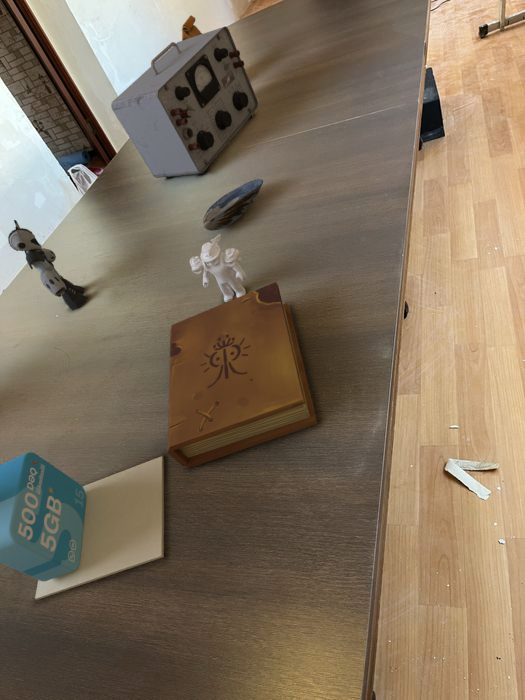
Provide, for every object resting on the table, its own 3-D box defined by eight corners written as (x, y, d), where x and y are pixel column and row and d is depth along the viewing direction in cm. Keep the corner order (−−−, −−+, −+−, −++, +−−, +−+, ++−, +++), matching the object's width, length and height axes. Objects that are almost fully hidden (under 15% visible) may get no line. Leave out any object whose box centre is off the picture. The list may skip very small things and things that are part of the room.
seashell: (262, 230, 96) (252, 209, 92) (206, 245, 100) (194, 226, 97) (272, 187, 105) (263, 166, 102) (220, 202, 110) (210, 183, 107)
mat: (37, 600, 61) (34, 599, 61) (55, 498, 71) (53, 497, 71) (163, 557, 58) (161, 555, 58) (164, 457, 68) (162, 455, 68)
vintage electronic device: (209, 179, 120) (154, 77, 103) (158, 184, 131) (101, 92, 114) (267, 108, 135) (227, 8, 118) (217, 118, 145) (174, 27, 128)
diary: (185, 349, 81) (167, 326, 78) (289, 307, 78) (276, 281, 74) (185, 469, 65) (162, 448, 61) (317, 424, 61) (302, 398, 57)
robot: (61, 286, 115) (-3, 217, 101) (79, 274, 115) (17, 204, 102) (74, 327, 100) (1, 253, 87) (94, 313, 101) (24, 237, 87)
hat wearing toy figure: (260, 282, 85) (230, 227, 77) (256, 298, 83) (225, 243, 74) (214, 292, 89) (181, 240, 80) (210, 307, 86) (175, 256, 78)
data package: (79, 573, 61) (7, 538, 52) (49, 585, 61) (-27, 552, 53) (88, 488, 69) (27, 446, 61) (61, 499, 70) (-3, 459, 62)
